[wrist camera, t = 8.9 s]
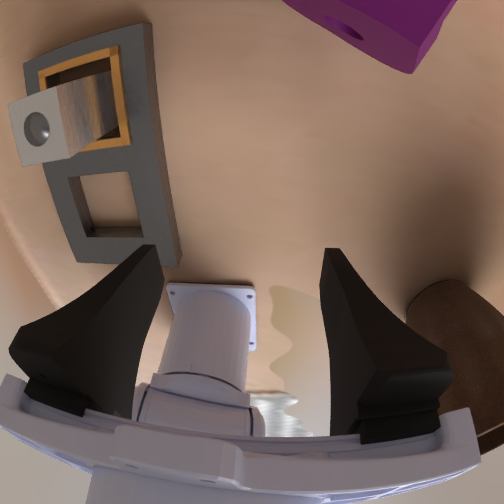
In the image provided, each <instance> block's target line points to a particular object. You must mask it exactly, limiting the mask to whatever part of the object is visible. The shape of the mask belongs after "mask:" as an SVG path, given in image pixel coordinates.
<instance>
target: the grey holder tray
mask: <svg viewBox="0 0 504 504" xmlns="http://www.w3.org/2000/svg"><path fill="white" fill-rule="evenodd" d="M107 58H110V63H111V73H112V81H113V89H114V97H115V104H116V111H117V117H118V124H119V130H120V132H113V133H107V134H104V135H103V136H101V137H100V138H98V139H97V140H95V141H94V142H92V143H91V144H89V145H88V146H86V147H85V148H83V149H82V150H81V151H79V152H78V153H76V154H75V155H73V156H72V157H71V158H67V159H61V160H55V161H50V162H44V163H42V164H43V168H44V171H45V175H46V178H47V182H48V185H49V188H50V191H51V194H52V197H53V200H54V203H55V206H56V209H57V212H58V215H59V218H60V221H61V223H62V226H63V229H64V231H65V234H66V237H67V239H68V242H69V244H70V247H71V249H72V252H73V254H74V256H75V259H76V261H77V262H82V263H103V264H121V263H122V262H123V261H124V260H125V259H126V258H127V257H129V256H130V255H131V254H132V253H133V252H134V251H135V250H137V249H138V248H139V247H140V246H142V245H143V244H151V245H156V249H157V252H158V256H159V260H160V264H161V266H177V267H178V265H179V262H180V259H181V257H182V251H181V246H180V241H179V236H178V230H177V225H176V219H175V214H174V208H173V202H172V196H171V190H170V184H169V178H168V171H167V165H166V158H165V151H164V144H163V136H162V129H161V121H160V112H159V103H158V94H157V84H156V74H155V62H154V50H153V35H152V24H149V23H139V24H135V25H130V26H126V27H122V28H119V29H115V30H111V31H108V32H104V33H101V34H98V35H95V36H91V37H88V38H85V39H82V40H79V41H77V42H74V43H71V44H68V45H66V46H63V47H60V48H58V49H55V50H53V51H50V52H48V53H46V54H43V55H41V56H39V57H36V58H34V59H32V60H30V61H28V62H26V63H24V64H23V69H24V77H25V84H26V91H27V96H30V95H32V94H35V93H38V92H40V91H43V90H46V89H49V88H52V87H55V86H58V85H60V80H59V73H60V72H63V71H66V70H69V69H72V68H75V67H79V66H82V65H85V64H89V63H92V62H96V61H99V60H103V59H107ZM122 171H129V175H130V180H131V185H132V189H133V194H134V198H135V202H136V207H137V211H138V215H139V219H140V223H141V227H94V225H93V222H92V219H91V215H90V212H89V209H88V206H87V203H86V199H85V196H84V192H83V189H82V185H81V182H80V178H79V176H83V175H91V174H101V173H111V172H122Z"/></svg>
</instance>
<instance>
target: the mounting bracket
mask: <svg viewBox="0 0 504 504" xmlns="http://www.w3.org/2000/svg"><path fill="white" fill-rule="evenodd" d="M282 1H283V2H285V3H286V4H287V5H289V6H290V7H292V8H293V9H294V10H296V11H297V12H299V13H300V14H302V15H304V16H305V17H307V18H308V19H310V20H311V21H313V22H315V23H317V24H318V25H320V26H322V27H323V28H325V29H327V30H328V31H330V32H332V33H333V34H335V35H337V36H338V37H340V38H341V39H343V40H344V41H346V42H347V43H349V44H351V45H352V46H354V47H356V48H357V49H359V50H361V51H363V52H364V53H366V54H368V55H369V56H371V57H373V58H375V59H377V60H378V61H380V62H382V63H384V64H386V65H388V66H390V67H392V68H394V69H396V70H398V71H401V72H403V73H407V74H412V73H413V72H414V70H415V69H416V67H417V66H418V65H419V63H420V62H421V60H422V59H423V57H424V56H425V54H426V53H427V52H428V50H429V49H430V47H431V46H432V44H433V43H434V41H435V40H436V38H437V36H438V33H439V31H440V28H441V25H442V23H443V21H444V19H445V18H446V16H447V15H448V13H449V12H450V10H451V9H452V7H453V6H454V4H455V3H456V1H457V0H282Z"/></svg>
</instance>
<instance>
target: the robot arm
mask: <svg viewBox="0 0 504 504" xmlns="http://www.w3.org/2000/svg"><path fill="white" fill-rule="evenodd" d="M164 280H165V279H164V275H163V272H162V268H161V264H160V260H159V256H158V252H157V249H156V245H151V244H143V245H142V246H140V247H139V248H138V249H137V250H135V251H134V252H133V253H132V254H131V255H130V256H129V257H127V258H126V259H125V260H124V261H123V262H122V263H121V264H120V265H118V266H117V267H116V268H115V269H114V270H113V271H112V272H111V273H109V274H108V275H107V276H106V277H104V278H103V279H102V280H101V281H100V282H98V283H97V284H96V285H95V286H93V287H92V288H91V289H90V290H88V291H87V292H85V293H84V294H83V295H81V296H80V297H78V298H77V299H75V300H74V301H72V302H70V303H69V304H67V305H65V306H64V307H62V308H60V309H59V310H57V311H55V312H53V313H51V314H49V315H47V316H45V317H43V318H41V319H39V320H36V321H34V322H32V323H29V324H27V325H24V326H21V327H20V329H19V330H18V332H17V334H16V336H15V337H14V339H13V341H12V343H11V345H10V347H9V354H10V356H11V357H12V359H13V360H14V361H15V362H16V364H17V365H18V366H19V367H20V368H21V369H22V370H23V371H24V372H25V374H26V375H27V376H28V377H29V378H30V379H29V381H28V383H26V382H25V381H23V380H21V379H19V378H17V377H14V376H12V375H9V374H6V375H5V377H4V379H3V382H2V384H1V386H0V427H1V428H2V429H3V430H5V431H6V432H8V433H9V434H11V435H12V436H13V437H15V438H17V439H18V440H19V441H21V442H23V443H25V444H27V445H29V446H31V447H33V448H35V449H37V450H39V451H41V452H43V453H45V454H47V455H49V456H51V457H53V458H55V459H57V460H60V461H62V462H64V463H66V464H68V465H71V466H73V467H75V468H78V469H80V470H83V471H85V472H88V473H90V474H92V478H91V483H90V487H89V491H88V495H87V500H86V504H347V503H354V502H361V501H366V500H372V499H377V498H382V497H387V496H392V495H396V494H400V493H404V492H409V491H412V490H416V489H420V488H424V487H427V486H431V485H434V484H437V483H440V482H444V481H447V480H449V479H452V478H454V477H456V476H458V475H460V474H462V473H464V472H466V471H468V470H470V469H472V468H474V467H476V466H478V465H479V464H481V456H480V451H479V446H478V441H477V437H476V432H475V428H474V424H473V420H472V416H471V412H470V408H468V407H467V408H463V409H459V410H455V411H451V412H447V413H444V414H442V415H440V416H438V411H437V409H439V408H440V402H439V397H440V396H441V395H442V394H443V393H444V392H445V391H446V390H447V388H448V387H449V386H450V385H451V383H452V382H453V380H454V377H455V374H454V371H453V367H452V364H451V361H450V358H449V356H448V354H447V352H446V351H444V350H443V349H441V348H439V347H438V346H436V345H434V344H433V343H431V342H429V341H428V340H426V339H425V338H423V337H422V336H421V335H419V334H418V333H416V332H415V331H414V330H412V329H411V328H410V327H408V326H407V325H406V324H405V323H404V322H402V321H401V320H400V319H399V318H398V317H397V316H395V315H394V314H393V313H392V312H391V311H390V310H389V309H388V308H387V307H386V306H385V305H384V304H383V303H382V302H381V301H380V300H379V299H378V298H377V297H376V295H375V294H374V293H373V292H372V291H371V290H370V288H369V287H368V286H367V285H366V284H365V282H364V281H363V280H362V278H361V277H360V276H359V275H358V273H357V272H356V271H355V269H354V268H353V266H352V265H351V264H350V262H349V261H348V259H347V258H346V257H345V255H344V254H343V252H342V251H341V250H340V248H325V252H324V259H323V265H322V272H321V278H320V284H319V286H320V302H321V310H322V315H323V321H324V326H325V332H326V337H327V343H328V349H329V358H330V382H331V420H330V436H323V437H265V422H264V418H263V416H262V415H261V413H260V412H259V410H258V408H257V407H254V406H250V394H248V393H245V386H246V375H247V364H248V353H249V351H255V350H256V348H257V340H256V292H255V288H254V287H253V286H242V285H213V284H190V283H168V284H167V286H166V289H167V293H168V296H169V300H170V303H171V306H172V310H173V313H174V319H173V322H172V325H171V328H170V332H169V335H168V338H167V342H166V345H165V349H164V352H163V356H162V359H161V363H160V366H159V370H158V373H153V376H152V380H151V383H150V384H147V383H141V384H140V385H138V386H137V387H135V383H136V377H137V372H138V366H139V362H140V357H141V353H142V348H143V345H144V342H145V338H146V336H147V333H148V330H149V328H150V325H151V322H152V320H153V317H154V314H155V312H156V309H157V306H158V304H159V301H160V298H161V294H162V289H163V285H164ZM172 291H173V292H172ZM249 295H251V296H249Z"/></svg>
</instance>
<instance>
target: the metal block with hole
mask: <svg viewBox="0 0 504 504" xmlns="http://www.w3.org/2000/svg"><path fill="white" fill-rule="evenodd" d="M8 109H9V114H10V119H11V124H12V129H13V133H14V137H15V141H16V145H17V149H18V153H19V157H20V160H21V164H22V167H25V166H29V165H34V164H39V163H44V162H50V161H55V160H61V159H67V158H71V157H72V156H73V155H75V154H76V153H78V152H79V151H81V150H82V149H83V148H85V147H86V146H88V145H89V144H91V143H92V142H94V141H95V140H97V139H98V138H100V137H101V136H103V135H104V134H106V133H107V132H109V131H111V130H112V129H114V128H115V127H117V126H119V124H118V117H117V111H116V104H115V97H114V89H113V81H112V73H111V71H107V72H103V73H99V74H95V75H91V76H87V77H84V78H80V79H77V80H73V81H70V82H67V83H64V84H61V85H58V86H55V87H52V88H49V89H46V90H43V91H40V92H38V93H35V94H32V95H30V96H27V97H25V98H22V99H20V100H17V101H15V102H13V103H10V104H8Z"/></svg>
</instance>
